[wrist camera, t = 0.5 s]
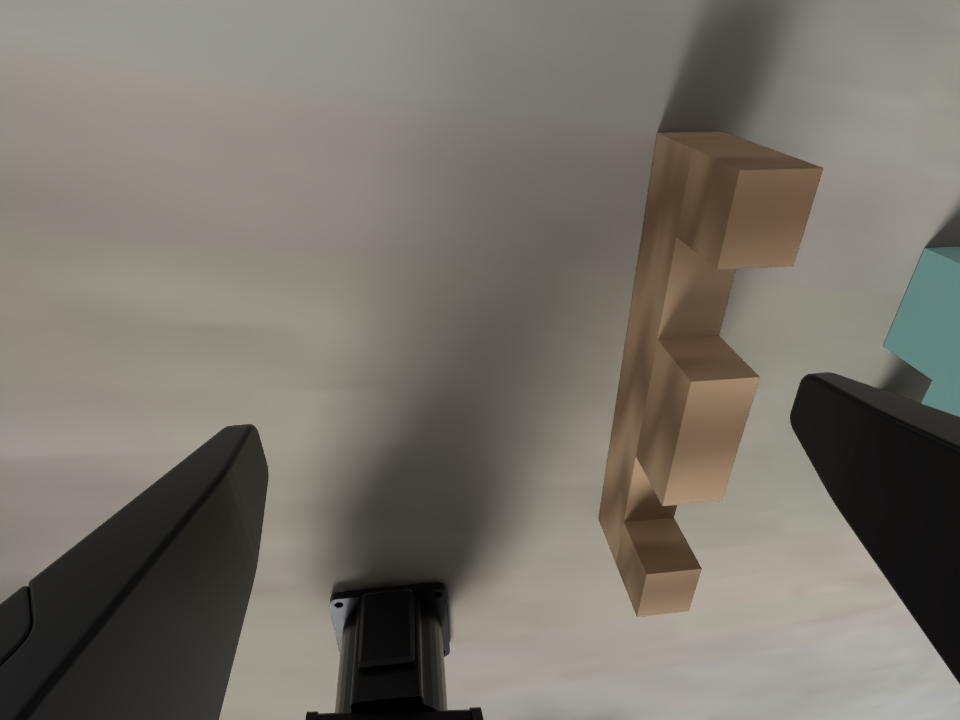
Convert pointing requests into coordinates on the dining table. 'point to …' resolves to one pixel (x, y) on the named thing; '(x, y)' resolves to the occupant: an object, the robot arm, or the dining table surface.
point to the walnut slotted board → (690, 347)
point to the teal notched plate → (932, 326)
